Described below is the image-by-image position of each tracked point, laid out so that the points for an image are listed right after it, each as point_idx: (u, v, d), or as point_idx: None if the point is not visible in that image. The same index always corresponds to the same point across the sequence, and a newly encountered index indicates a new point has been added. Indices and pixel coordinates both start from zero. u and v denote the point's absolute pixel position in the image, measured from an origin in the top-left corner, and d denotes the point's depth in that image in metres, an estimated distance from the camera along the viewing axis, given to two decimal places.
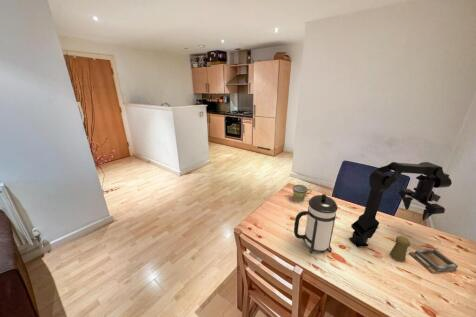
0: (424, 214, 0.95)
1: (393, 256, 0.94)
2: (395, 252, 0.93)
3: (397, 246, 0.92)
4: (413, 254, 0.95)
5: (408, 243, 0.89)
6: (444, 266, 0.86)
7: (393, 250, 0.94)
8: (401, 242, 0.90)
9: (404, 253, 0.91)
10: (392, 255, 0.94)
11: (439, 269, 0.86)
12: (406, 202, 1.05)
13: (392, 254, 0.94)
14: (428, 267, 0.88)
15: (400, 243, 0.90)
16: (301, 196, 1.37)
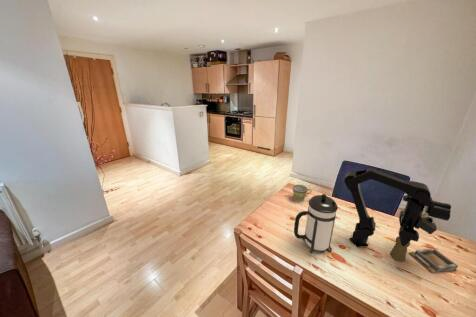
0: (399, 236, 0.87)
1: (393, 256, 0.94)
2: (395, 252, 0.93)
3: (397, 246, 0.92)
4: (413, 254, 0.95)
5: (408, 243, 0.89)
6: (444, 266, 0.86)
7: (393, 250, 0.94)
8: None
9: (404, 253, 0.91)
10: (392, 255, 0.94)
11: (439, 269, 0.86)
12: (402, 225, 0.94)
13: (392, 254, 0.94)
14: (428, 267, 0.88)
15: (400, 243, 0.90)
16: (301, 196, 1.37)
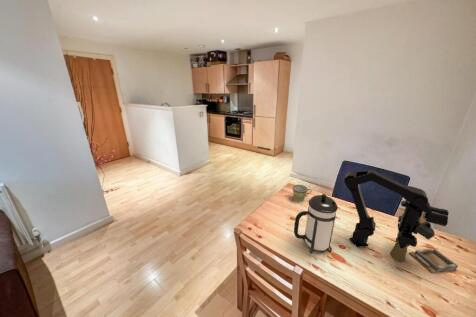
0: None
1: (393, 256, 0.94)
2: (395, 252, 0.93)
3: (397, 246, 0.92)
4: (413, 254, 0.95)
5: None
6: (444, 266, 0.86)
7: (393, 250, 0.94)
8: None
9: (404, 253, 0.91)
10: (392, 255, 0.94)
11: (439, 269, 0.86)
12: (400, 232, 0.94)
13: (392, 254, 0.94)
14: (428, 267, 0.88)
15: None
16: (301, 196, 1.37)
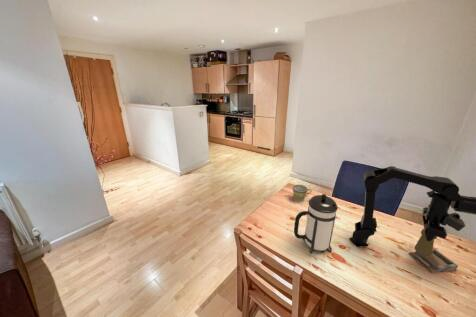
0: None
1: (419, 250, 0.89)
2: (421, 245, 0.89)
3: (423, 239, 0.88)
4: (413, 254, 0.95)
5: None
6: (444, 266, 0.86)
7: (418, 243, 0.90)
8: None
9: (431, 246, 0.87)
10: (417, 249, 0.90)
11: (439, 269, 0.86)
12: None
13: (417, 248, 0.90)
14: (428, 267, 0.88)
15: None
16: (301, 196, 1.37)
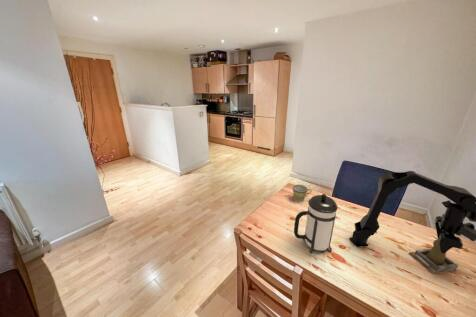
0: (439, 243, 0.84)
1: (431, 260, 0.90)
2: (433, 256, 0.90)
3: (435, 250, 0.89)
4: (413, 254, 0.95)
5: None
6: (444, 266, 0.86)
7: (430, 254, 0.91)
8: None
9: (443, 257, 0.88)
10: (429, 259, 0.91)
11: (439, 269, 0.86)
12: (438, 231, 0.91)
13: (429, 258, 0.91)
14: (428, 267, 0.88)
15: (439, 247, 0.87)
16: (301, 196, 1.37)
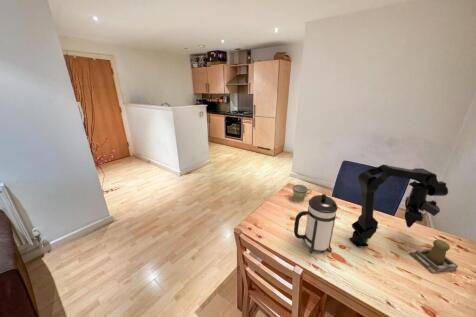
0: (405, 218, 0.95)
1: (431, 260, 0.90)
2: (433, 256, 0.90)
3: (435, 250, 0.89)
4: (413, 254, 0.95)
5: (448, 247, 0.86)
6: (444, 266, 0.86)
7: (430, 254, 0.91)
8: (440, 246, 0.87)
9: (443, 257, 0.88)
10: (429, 259, 0.91)
11: (439, 269, 0.86)
12: (407, 209, 1.02)
13: (429, 258, 0.91)
14: (428, 267, 0.88)
15: (439, 247, 0.87)
16: (301, 196, 1.37)
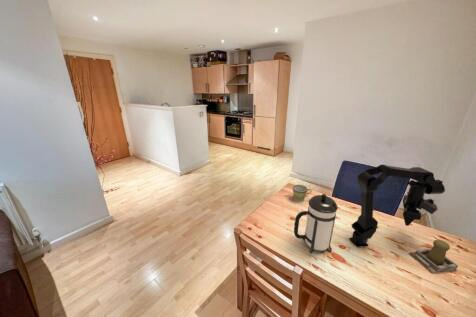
0: None
1: (431, 260, 0.90)
2: (433, 256, 0.90)
3: (435, 250, 0.89)
4: (413, 254, 0.95)
5: (448, 247, 0.86)
6: (444, 266, 0.86)
7: (430, 254, 0.91)
8: (441, 246, 0.87)
9: (443, 257, 0.88)
10: (429, 259, 0.91)
11: (439, 269, 0.86)
12: (405, 207, 1.03)
13: (429, 258, 0.91)
14: (428, 267, 0.88)
15: (439, 247, 0.87)
16: (301, 196, 1.37)
